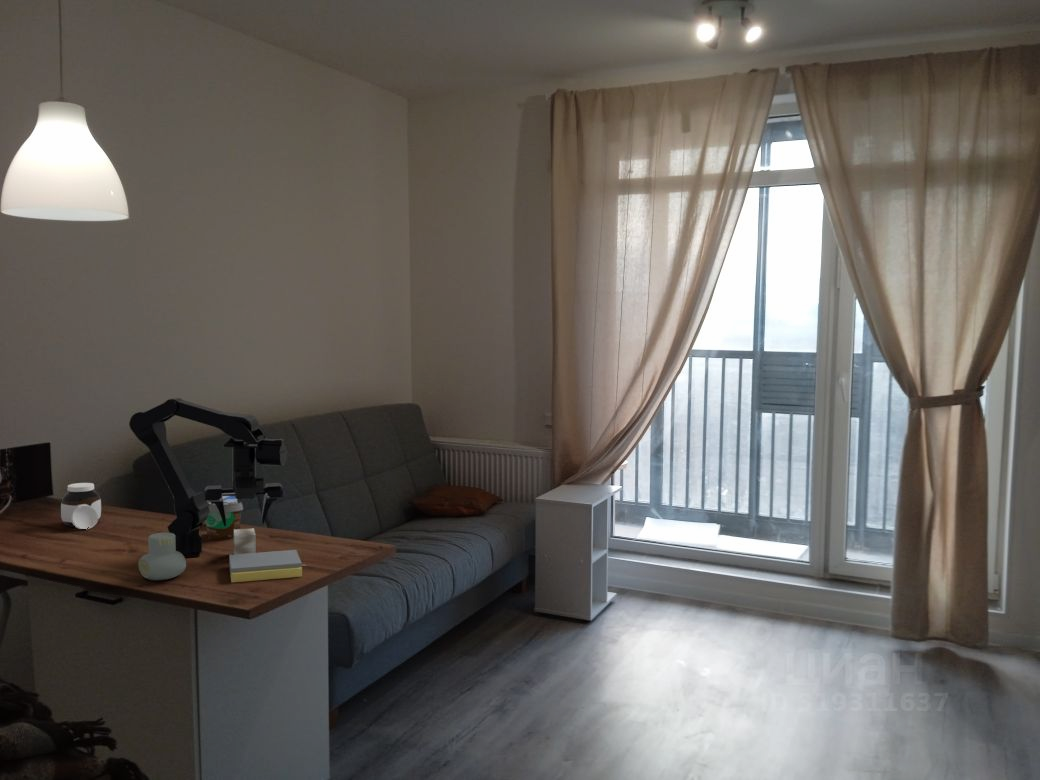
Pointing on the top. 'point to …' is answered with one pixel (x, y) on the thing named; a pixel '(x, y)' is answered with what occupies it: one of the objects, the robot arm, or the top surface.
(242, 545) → the white milk carton
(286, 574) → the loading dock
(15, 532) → the top surface
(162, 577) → the air freshener
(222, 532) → the food container
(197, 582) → the top surface
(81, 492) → the spread jar
